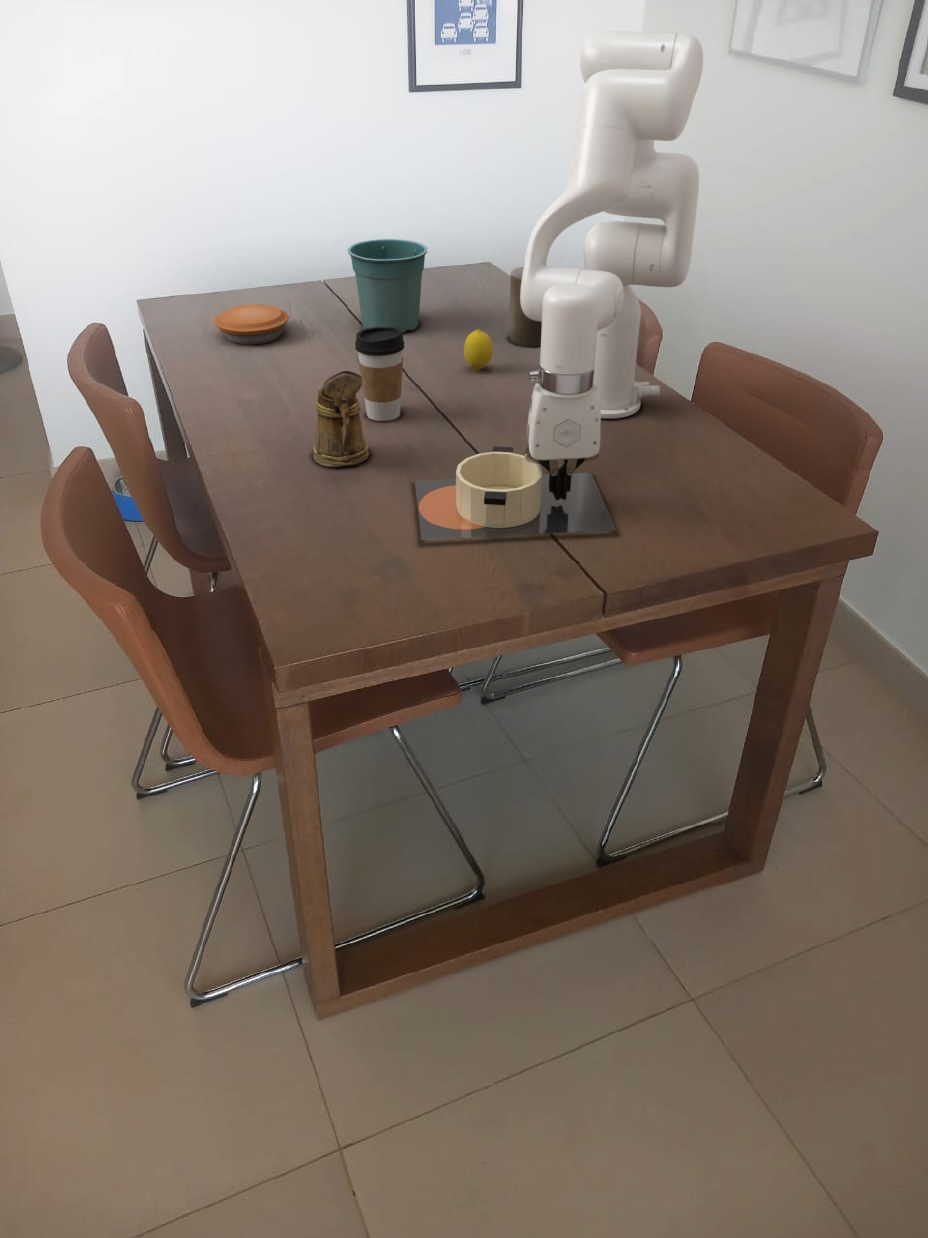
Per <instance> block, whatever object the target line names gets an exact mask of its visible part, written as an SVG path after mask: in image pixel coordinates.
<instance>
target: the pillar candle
mask: <svg viewBox="0 0 928 1238" xmlns="http://www.w3.org/2000/svg"><path fill="white" fill-rule="evenodd" d="M523 268H524V266H519V267H518V266H517V267H514V268H513V269H512V270H511V271H510V280H509V281H510V282H509V283H510V285H509V286H510V287H509V318H508V339H509V340H510V342H512V343H514V344H515V345H518V346H522V347H541V331H542V322H540V321H535V320H532V319H530V318H528V317H527V316H526V315H525V314H524V313H523V311H522V308H521V303H520V291H521V282H522V275H523Z"/></svg>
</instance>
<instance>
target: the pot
mask: <svg viewBox="0 0 928 1238" xmlns="http://www.w3.org/2000/svg"><path fill="white" fill-rule="evenodd" d="M542 475H543V468H542V467H541V466H540V464H535V463H530V462H527V461H526V459H525V455H523V454H518V453H514V447H513V446H497V445H496V446H493V447H492V451H490V452H482V453H477V454H474V455H472V456H468V457H466V458H465V459H463V460H462V461H461V462H460V463H459V464H457V467H456V470H455V479H456V506H457V510H458V513H459V514H460V515H461V516H462V517H463V518H464V519H465V520H467V521H469V522H471V523H473V524H476V525H479V526H484V527H490V528H509V527H515V526H520V525H523V524H526V523H528V522H530V521H531V520H533V519H534V518H535V517H536V516H537V515H538V514H539V512H540V503H541V485H542Z"/></svg>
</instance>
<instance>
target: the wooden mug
mask: <svg viewBox="0 0 928 1238" xmlns="http://www.w3.org/2000/svg"><path fill="white" fill-rule="evenodd" d="M362 388H363V387H362V377H361V375H360V374H358V373H356V372H353V371H349V370H343V371H340V372H337V373H336V374H334V375H332V376H330V377H329V378H328V379H326V380H325V382H324V383H323V386H322V387H321V388H320V389H319V390H318V391H317V398H316V401H315V411H316V415H317V416H316V426H315V427H316V429H315V430H316V432H315V444H314V446H313V453H312V454H313V459H314V461H315V462H316V463H317V464H320V465H321V466H324V467H328V468H337V469H341V468H348V467H354V466H358V465H360V464H363V462H365V461H366V460H367V459H368V457H369V455H370V452H369V447H368V443H367V442H366V440H365V435H364V430H363V425H362V421H361V416H360V415H361V414H360V412H361V411H362V407H361V404H360V400H359V398H358V396H357V394H358V393H359V392H360V390H361V389H362Z"/></svg>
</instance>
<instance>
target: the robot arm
mask: <svg viewBox="0 0 928 1238" xmlns="http://www.w3.org/2000/svg"><path fill="white" fill-rule="evenodd" d="M579 68H580V73H581V77H582V80H583V82H584V85H583V88H582V91H581V95H580V102H579V107H578V108H579V109H578V113H577V121H576V128H575V134H574V142H573V149H572V155H571V162H570V169H569V176H568V181H567V182H568V183H567V186H566V188H565V190H564V191H562V193H561V194H560V195H559V196H558V197H557V198H556V199H555V200H554V201H553V202H551V204H550V205H549V206H548V207H547V208H546V210H545V211H544V212H543V213H542V215H541V216H540V218H539V219H538V221H537V222H536V224H535V226H534V227H533V229H532V231H531V234H530V236H529V239H528V241H527V245H526V249H525V250H526V251H525V256H524V264H523V267H524V268H523V275H522V282H521V291H520V303H521V308H522V311H523V313H524V314H525V315H526V316H527V317H528V318H530V319H532V320H535V321H540V322H542V331H541V346H540V352H539V353H540V354H539V356H540V357H539V363H538V367H537V368H536V369H534V370H529V371H528V379H529V380H528V381H529V382H535V384H534V387H533V391H532V394H531V399H530V404H529V410H528V417H527V425H526V444H527V445H526V449H525V452H524V456H525V459H526V461H527V462H530V463H535V464H539V465H541V466H542V467H543V468H544V469H545V470H546V471H548V474H549V491H550V492H553V495H554V498H555V500H559V499H560V498H561V499H562V500H566V497H567V492H569V491H570V489H571V475H573V474H574V473H576V472H575V471H576V470H577V469H578V468H579V467H580V466H581V465H582V464H584V463H586V462H590V461H594V460H597V459H598V458H599V452H600V448H601V433H602V432H601V431H602V429H601V426H602V424H601V423H602V422H601V421H602V419H604V420H605V419H607V420H611V419H612V420H613V419H622V418H626V417H630V416H632V415H634V414H636V413H637V412H638V411H639V410H640V408H641V404H642V403H641V402H642V401H641V399H642V398H643V397H649V398H650V397H651V398H652V397H660V395H661V394H660V393H661V388H660V385H650V381H641V382H637V380H635V375H636V367H637V366H636V365H637V355H638V354H637V353H638V346H639V335H640V326H641V319H642V310H641V309H642V308H641V303H640V301H639V299H638V297H637V295H636V293H635V292H634V290H633V288H632V287H631V286H644V287H656V288H657V287H658V288H676V287H678V286H680V285H682V284H683V283H684V282H685V280H686V279H687V276H688V274H689V271H690V267H691V260H692V255H693V254H692V253H693V245H694V237H695V229H696V228H695V226H696V218H697V208H698V200H699V189H700V173H699V167H698V164H697V162H696V160H695V159H694V158H693V157H691V156H689V155H687V154H684V153H676V152H661V151H659V152H658V151H656V149H655V141H661V142H668V141H669V142H671V141H675V140H676V139H678V138H679V137H680V136H681V135H682V133H683V132H684V130H685V127H686V126H687V123H688V120H689V117H690V114H691V112H692V108H693V105H694V102H695V101H694V100H695V98H696V95H697V92H698V90H699V89H698V88H699V85H700V82H701V78H702V74H703V69H704V51H703V45H702V43H701V42H700V40H699V39H698V38H697V37H696V36H694V35H692V34H689V33H678V32H647V31H632V30H631V31H629V30H628V31H626V30H618V31H617V30H611V31H601V32H596V33H593V34H591V35H589V36H587V37H586V38H585V39H584V41H582V44H581V47H580V51H579ZM600 213H606V214H609V215H614V216H620V217H633V218H646V219H655V220H656V219H657V220H661V221H662V222H663V223H664V224H656V223H643V222H635V221H633V222H632V221H621V220H620V221H619V220H609V221H603V222H599V223H597V224H595V225H594V226H592V227H591V228H590V229H589V230H588V232H587V233H586V236H585V238H584V243H583V263H584V269H582V268H578V267H577V268H576V267H564V266H554V265H547V260H548V256H549V252H550V250H551V247H552V246H553V243H554V242H555V240H556V239H557V238H558V237H559V236H560V235H561V234H562V233H563V232H564V231H565V230H566V229H568V228H569V227H572V226H573V225H575V224H576V223H578V222H580V221H582V220H584V219H586V218H589V217H592V216H594V215H597V214H600ZM561 460H562V465H561V466H560V467H559V462H558V461H561Z"/></svg>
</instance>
